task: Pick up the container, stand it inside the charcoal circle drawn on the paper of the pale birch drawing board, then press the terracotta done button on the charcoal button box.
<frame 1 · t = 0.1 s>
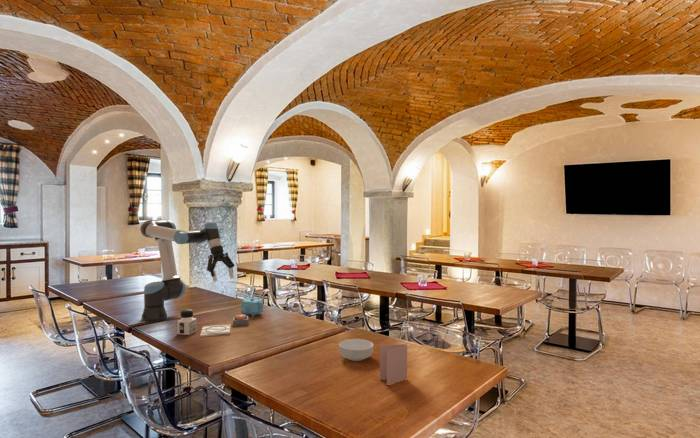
hand: (224, 280, 260), 28 cm above the table, tool tilted 20°, fingers open, 13 cm apart
button box: (240, 323, 263), on the table
greeting card: (394, 383, 176), on the table
cereal bowl: (356, 358, 204), on the table
container: (187, 333, 244), on the table
teapot: (253, 314, 286), on the table
done button: (240, 317, 263), point 4 cm above the table, slide at 0.0 cm
drawing board: (216, 331, 247), on the table
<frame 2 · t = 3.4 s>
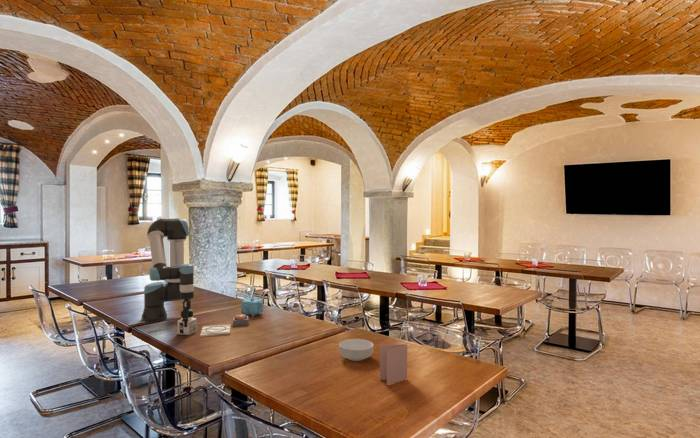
hand: (187, 329, 244), 2 cm above the table, tool pointing down, fingers closed on container, 10 cm apart
container: (187, 333, 244), on the table, touching gripper
everything else where it was.
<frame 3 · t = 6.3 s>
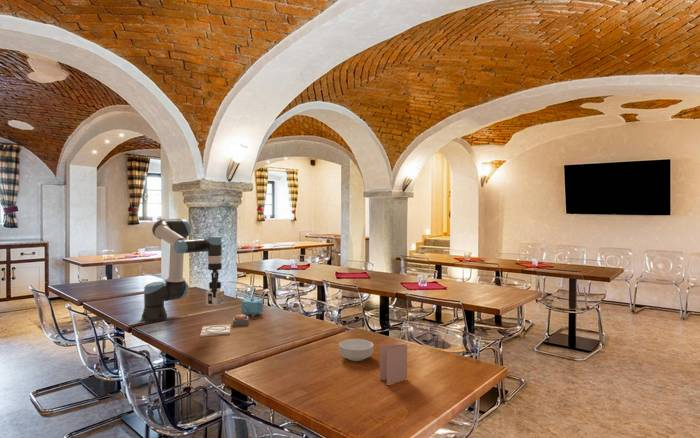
hand: (215, 300, 247), 18 cm above the table, tool pointing down, fingers closed on container, 10 cm apart
container: (215, 304, 247), point 16 cm above the table, touching gripper
everything else where it was.
when the fingers open (4 cm above the table, at t = 9.4 s): container drops 1 cm, resting on drawing board.
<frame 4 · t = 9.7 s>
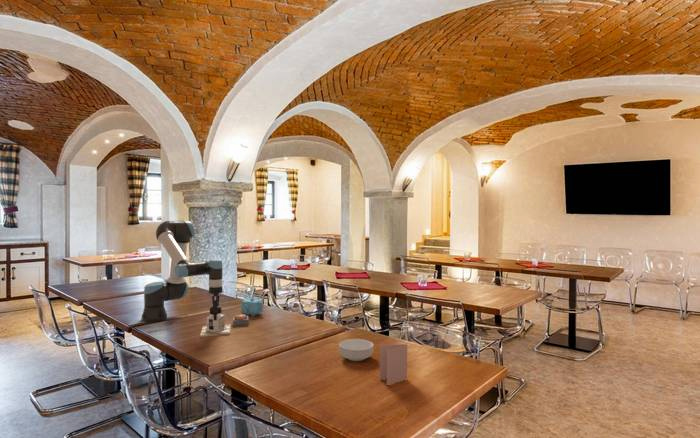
hand: (216, 322, 247), 5 cm above the table, tool pointing down, fingers open, 13 cm apart
container: (215, 329, 247), point 1 cm above the table, touching drawing board
everything else where it was.
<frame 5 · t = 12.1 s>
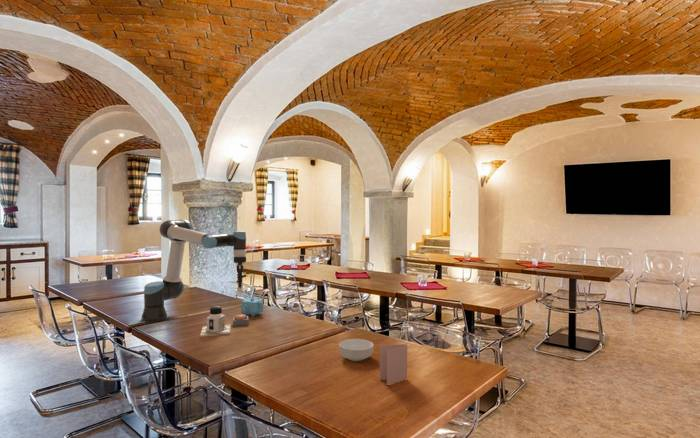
hand: (240, 290, 262), 21 cm above the table, tool pointing down, fingers open, 12 cm apart
nothing on the table moved.
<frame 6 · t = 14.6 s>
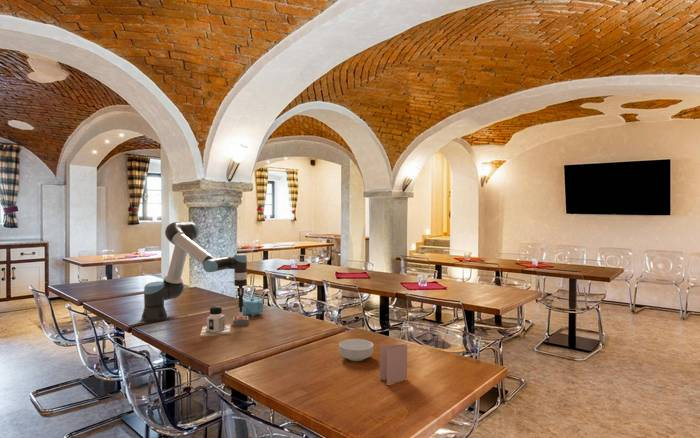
hand: (240, 316, 263), 4 cm above the table, tool pointing down, fingers closed
done button: (240, 319, 263), point 3 cm above the table, slide at 0.9 cm, touching gripper
everything else where it was.
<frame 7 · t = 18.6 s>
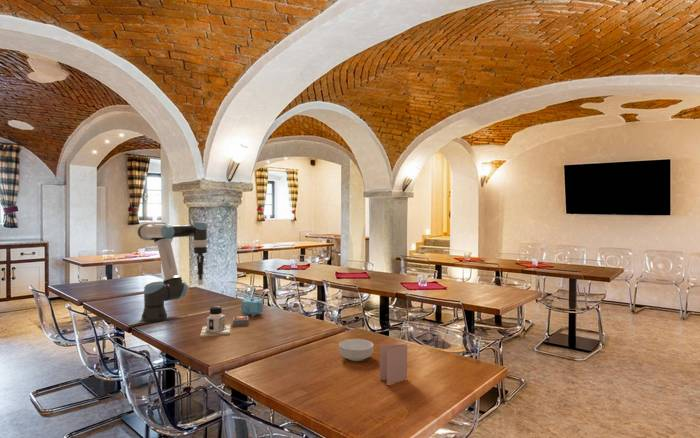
hand: (200, 284, 262), 24 cm above the table, tool pointing down, fingers closed
done button: (240, 319, 263), point 3 cm above the table, slide at 1.0 cm
everything else where it was.
at the end: container 0.1 cm off-centre on the drawing board, point 1.0 cm above the drawing board's base; container tilted 0°; done button slide at 1.0 cm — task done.
